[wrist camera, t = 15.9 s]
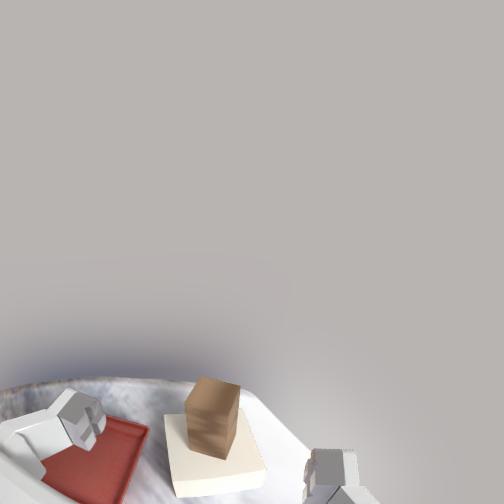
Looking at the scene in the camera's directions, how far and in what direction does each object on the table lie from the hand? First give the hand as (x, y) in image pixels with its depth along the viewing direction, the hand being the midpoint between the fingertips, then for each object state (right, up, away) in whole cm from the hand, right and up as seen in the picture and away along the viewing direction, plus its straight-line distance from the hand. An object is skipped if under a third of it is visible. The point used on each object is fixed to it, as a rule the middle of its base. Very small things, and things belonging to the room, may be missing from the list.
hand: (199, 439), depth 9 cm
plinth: (-4, -25, +27) cm, 37 cm away
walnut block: (-3, -19, +25) cm, 32 cm away
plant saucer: (-23, -25, +22) cm, 40 cm away
